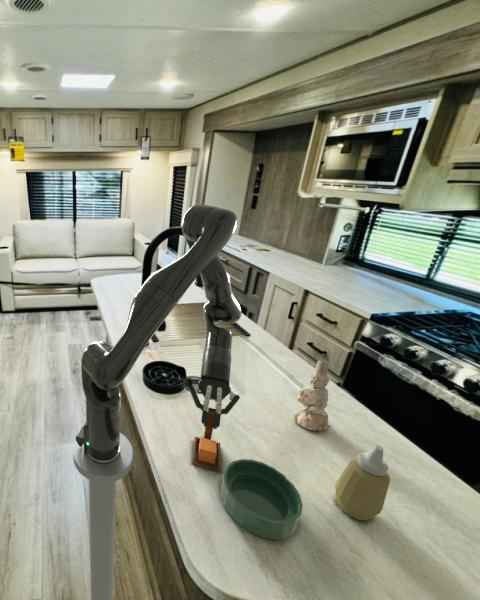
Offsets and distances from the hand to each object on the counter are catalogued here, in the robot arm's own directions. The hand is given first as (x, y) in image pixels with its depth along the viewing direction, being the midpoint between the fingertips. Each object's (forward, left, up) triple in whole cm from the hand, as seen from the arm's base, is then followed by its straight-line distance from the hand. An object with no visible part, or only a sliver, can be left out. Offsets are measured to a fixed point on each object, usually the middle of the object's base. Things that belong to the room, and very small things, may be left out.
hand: (210, 427), depth 83 cm
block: (0, -3, -7) cm, 8 cm away
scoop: (0, -2, -8) cm, 8 cm away
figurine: (+29, +22, -8) cm, 37 cm away
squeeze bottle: (+31, -5, -8) cm, 33 cm away
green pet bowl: (+11, -12, -8) cm, 18 cm away
